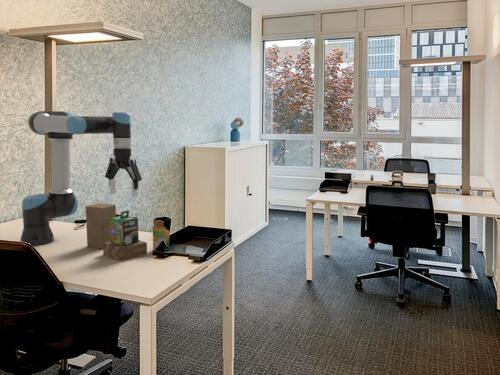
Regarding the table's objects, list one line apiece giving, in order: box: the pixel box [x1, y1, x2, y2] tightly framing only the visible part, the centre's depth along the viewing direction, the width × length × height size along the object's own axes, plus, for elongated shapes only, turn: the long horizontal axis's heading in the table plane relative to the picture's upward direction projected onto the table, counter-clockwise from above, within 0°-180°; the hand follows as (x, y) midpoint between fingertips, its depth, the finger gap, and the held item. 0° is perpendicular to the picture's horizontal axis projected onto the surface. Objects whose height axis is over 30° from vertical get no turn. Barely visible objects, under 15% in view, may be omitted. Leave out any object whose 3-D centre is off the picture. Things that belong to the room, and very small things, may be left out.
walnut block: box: [102, 239, 148, 262], centre depth 208 cm, size 14×14×6 cm
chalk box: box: [110, 210, 140, 246], centre depth 207 cm, size 9×9×15 cm
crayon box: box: [152, 226, 170, 251], centre depth 215 cm, size 7×3×12 cm, turn 70°
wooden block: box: [85, 202, 117, 250], centre depth 221 cm, size 10×10×20 cm
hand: (123, 195), depth 205 cm, fingers open, 13 cm apart
